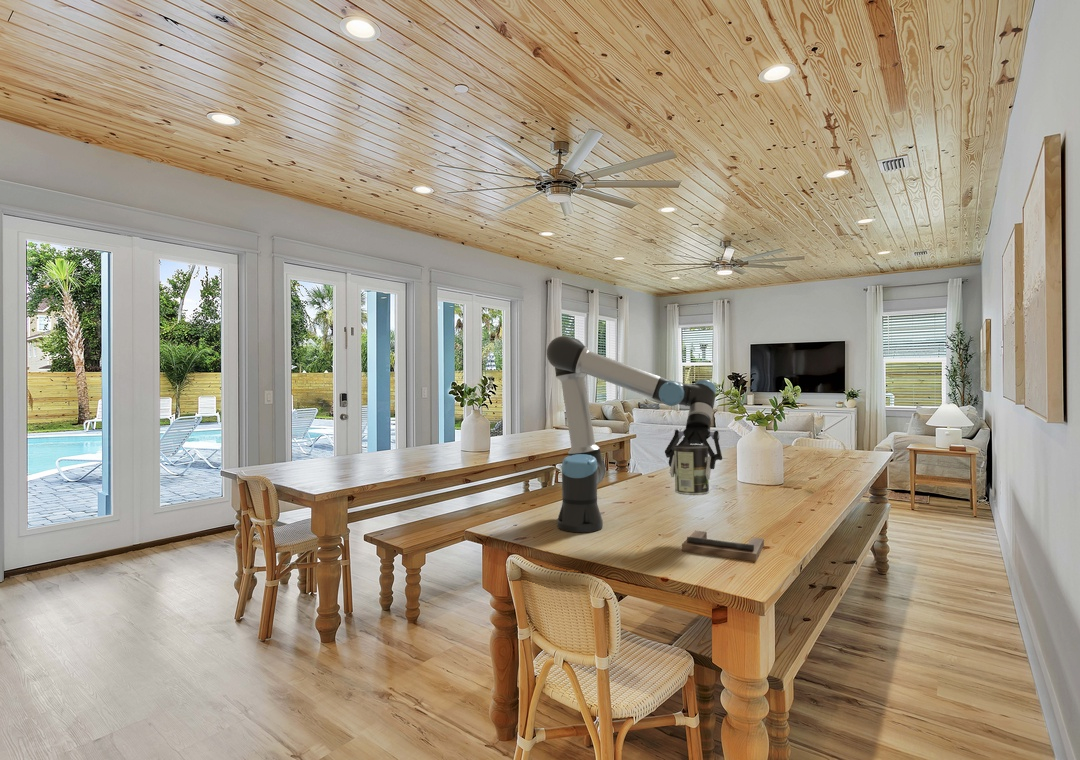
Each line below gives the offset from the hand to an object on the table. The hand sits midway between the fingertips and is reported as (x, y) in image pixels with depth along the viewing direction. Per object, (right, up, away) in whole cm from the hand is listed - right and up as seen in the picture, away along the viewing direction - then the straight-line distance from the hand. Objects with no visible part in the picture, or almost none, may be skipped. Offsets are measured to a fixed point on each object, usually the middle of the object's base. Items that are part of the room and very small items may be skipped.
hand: (689, 475), depth 171 cm
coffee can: (+1, -6, +3) cm, 6 cm away
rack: (+8, -20, -7) cm, 23 cm away
